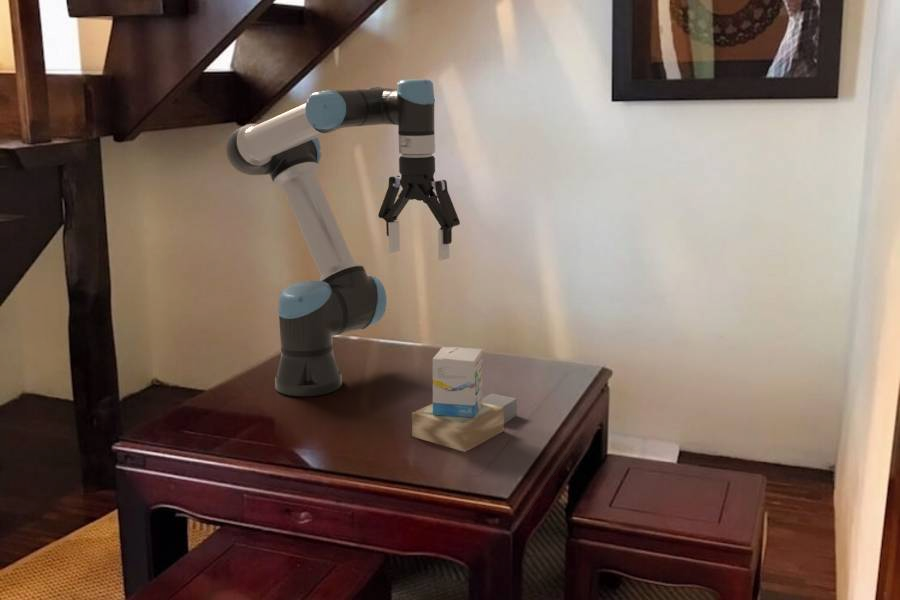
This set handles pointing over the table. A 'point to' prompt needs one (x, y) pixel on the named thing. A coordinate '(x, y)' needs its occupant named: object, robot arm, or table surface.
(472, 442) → the pedestal
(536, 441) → the table surface
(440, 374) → the ink box
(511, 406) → the slate block
